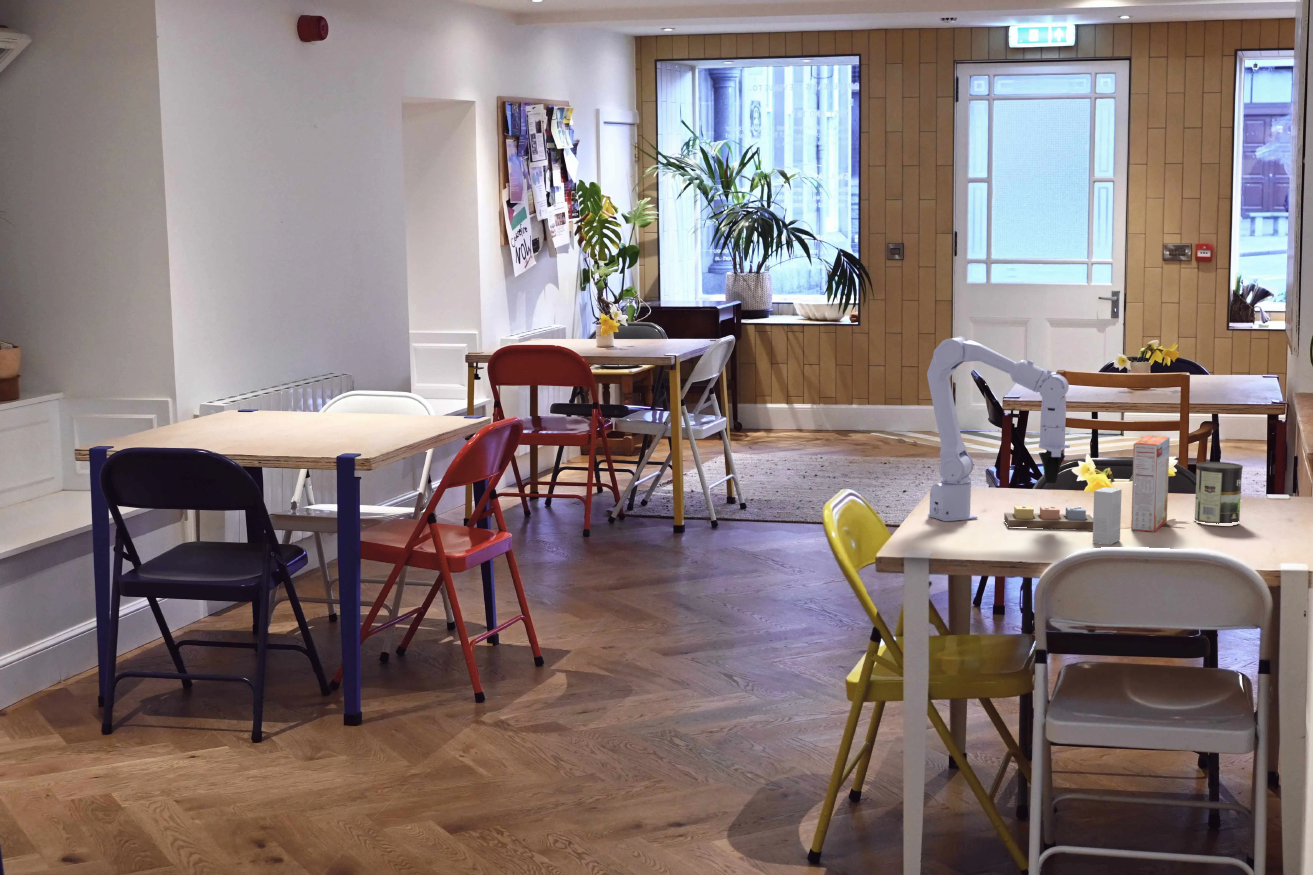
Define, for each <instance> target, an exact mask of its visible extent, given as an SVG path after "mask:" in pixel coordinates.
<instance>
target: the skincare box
mask: <svg viewBox="0 0 1313 875" xmlns="http://www.w3.org/2000/svg"><path fill="white" fill-rule="evenodd" d="M1121 513H1122V488H1115V487H1106V486H1105V487H1104V486H1103V487H1102V488H1098V489H1096V490H1094V491H1093V517H1092V518H1093V530H1092V543H1093V542H1094V543H1093V544H1097V543H1101V544H1100V545H1105V546H1110V545H1111V546H1112V545H1113V544H1115V543H1118V542H1119V541H1120V540H1121V525H1122V524H1121V520H1122V519H1121V518H1122V517H1121V515H1122V514H1121Z"/></svg>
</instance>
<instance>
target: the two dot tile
mask: <svg viewBox="0 0 1313 875" xmlns="http://www.w3.org/2000/svg"><path fill="white" fill-rule="evenodd" d="M1039 513H1040V519H1059V517H1060V514H1061V512H1060V509H1059V507H1058V506H1054V505H1050V506H1039Z"/></svg>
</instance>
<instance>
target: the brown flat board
mask: <svg viewBox="0 0 1313 875" xmlns="http://www.w3.org/2000/svg"><path fill="white" fill-rule="evenodd" d="M1003 514H1004V515H1003V516H1004V517H1003V519H1004V520H1005V521H1004V520H1003V521H1004V523H1005V522H1006V523H1007V525H1008V527H1027V528H1043V529H1042V530H1061V529H1076V530H1075V531H1077V530H1078V531H1093V517H1092V516H1091V514H1087V513H1086V520H1066V519H1065V516H1066V513H1060V517H1059V519H1040V512H1039V513H1037V512H1036V513H1035V512H1034V515H1033V519H1016V518H1014V512H1004V513H1003ZM1006 523H1005V524H1006ZM1007 525H1006V526H1007ZM1008 527H1007V528H1008Z"/></svg>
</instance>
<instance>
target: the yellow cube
mask: <svg viewBox="0 0 1313 875" xmlns="http://www.w3.org/2000/svg"><path fill="white" fill-rule="evenodd" d="M1034 511H1035V510H1034V507H1032V506H1031V505H1030V506H1029V505H1014V506H1013V513H1014V518H1016V519H1033V515H1034V513H1035V512H1034Z"/></svg>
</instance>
